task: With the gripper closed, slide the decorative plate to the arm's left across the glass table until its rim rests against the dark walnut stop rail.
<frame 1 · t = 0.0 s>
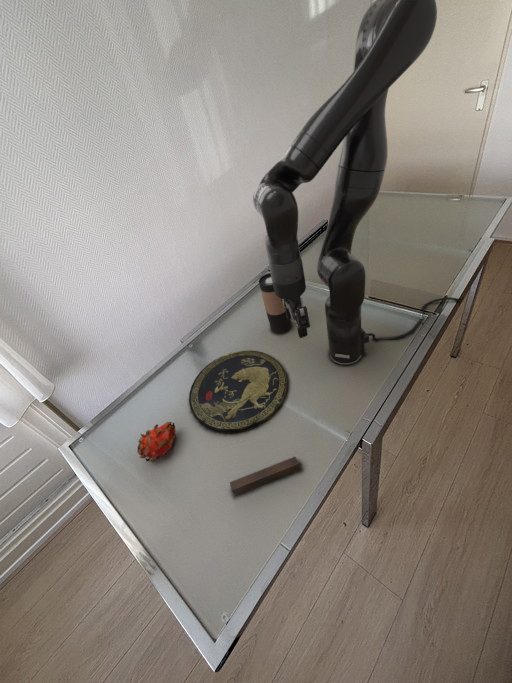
hand: (297, 326, 84), 17 cm above the table, tool pointing down, fingers open, 8 cm apart
stop rail: (266, 478, 74), on the table
travel mug: (281, 327, 112), on the table
decorative plate: (238, 389, 96), on the table
dragon fruit: (163, 447, 87), on the table
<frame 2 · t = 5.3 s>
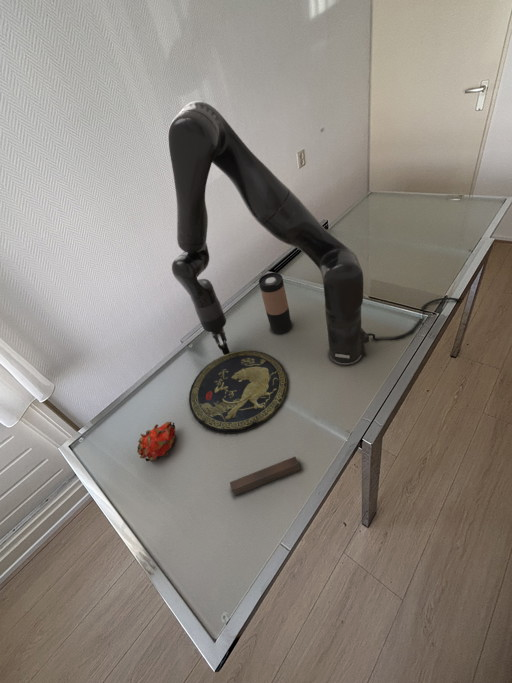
hand: (226, 352, 107), 1 cm above the table, tool pointing down, fingers closed
decorative plate: (238, 389, 96), on the table, touching gripper
everything else where it was.
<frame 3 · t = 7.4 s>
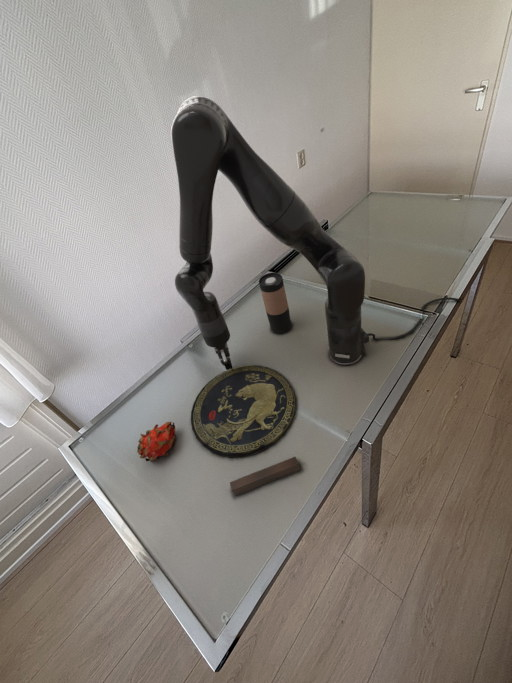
hand: (229, 367, 101), 1 cm above the table, tool pointing down, fingers closed
decorative plate: (243, 408, 90), on the table, touching gripper
everything else where it was.
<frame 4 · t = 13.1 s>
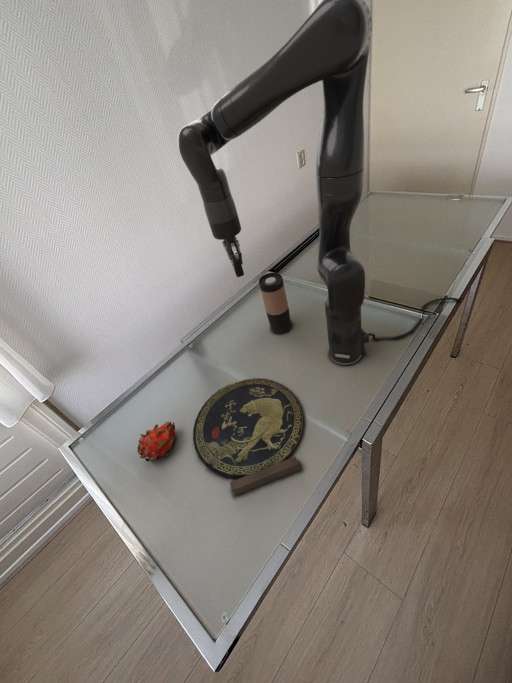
hand: (240, 275, 91), 27 cm above the table, tool pointing down, fingers closed
decorative plate: (247, 424, 86), on the table
everything else where it was.
at the end: decorative plate inside the target area on the table beside the stop rail (0.6 cm from its centre), on the table; decorative plate moved 13.0 cm from its start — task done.
